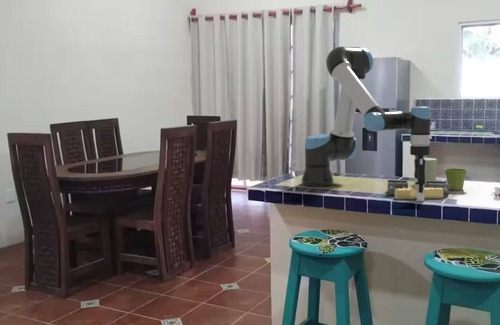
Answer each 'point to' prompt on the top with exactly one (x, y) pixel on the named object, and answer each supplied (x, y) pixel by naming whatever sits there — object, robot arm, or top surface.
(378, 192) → the top surface
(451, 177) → the plant pot
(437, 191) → the yellow wooden bar
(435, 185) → the chain end right
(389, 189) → the chain end left
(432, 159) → the can
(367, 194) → the top surface
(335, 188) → the top surface
